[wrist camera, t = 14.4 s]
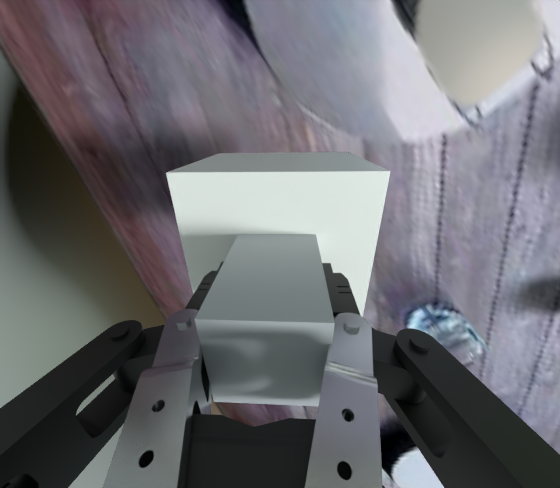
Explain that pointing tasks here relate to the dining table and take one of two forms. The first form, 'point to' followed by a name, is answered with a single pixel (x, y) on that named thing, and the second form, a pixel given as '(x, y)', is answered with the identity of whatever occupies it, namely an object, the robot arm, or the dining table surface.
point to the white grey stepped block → (275, 262)
